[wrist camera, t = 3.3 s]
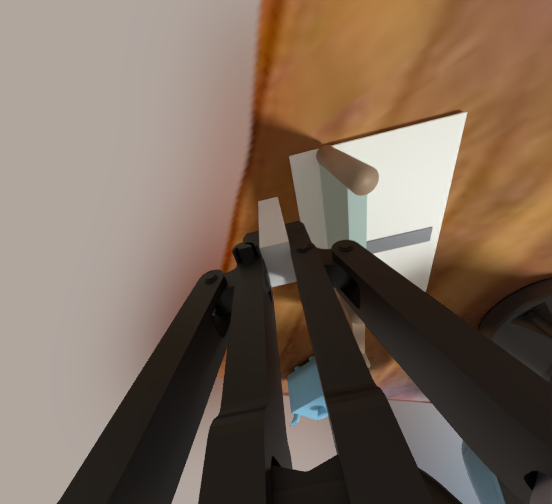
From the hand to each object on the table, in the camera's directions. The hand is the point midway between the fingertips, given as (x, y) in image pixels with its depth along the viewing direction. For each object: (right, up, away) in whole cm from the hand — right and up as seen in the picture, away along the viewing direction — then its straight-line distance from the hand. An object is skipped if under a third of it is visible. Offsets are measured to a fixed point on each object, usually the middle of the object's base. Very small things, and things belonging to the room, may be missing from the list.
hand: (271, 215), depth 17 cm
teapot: (+6, -24, +22) cm, 33 cm away
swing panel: (+5, +2, +4) cm, 7 cm away
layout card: (+11, -1, +8) cm, 13 cm away
